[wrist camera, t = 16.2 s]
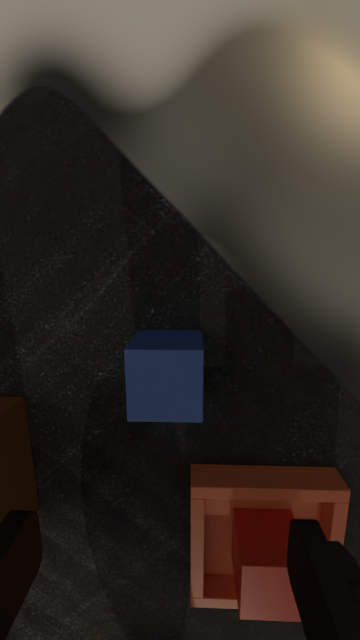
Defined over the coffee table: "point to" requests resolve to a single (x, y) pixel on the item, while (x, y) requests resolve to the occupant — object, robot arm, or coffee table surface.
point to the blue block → (164, 376)
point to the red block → (262, 564)
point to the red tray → (260, 493)
